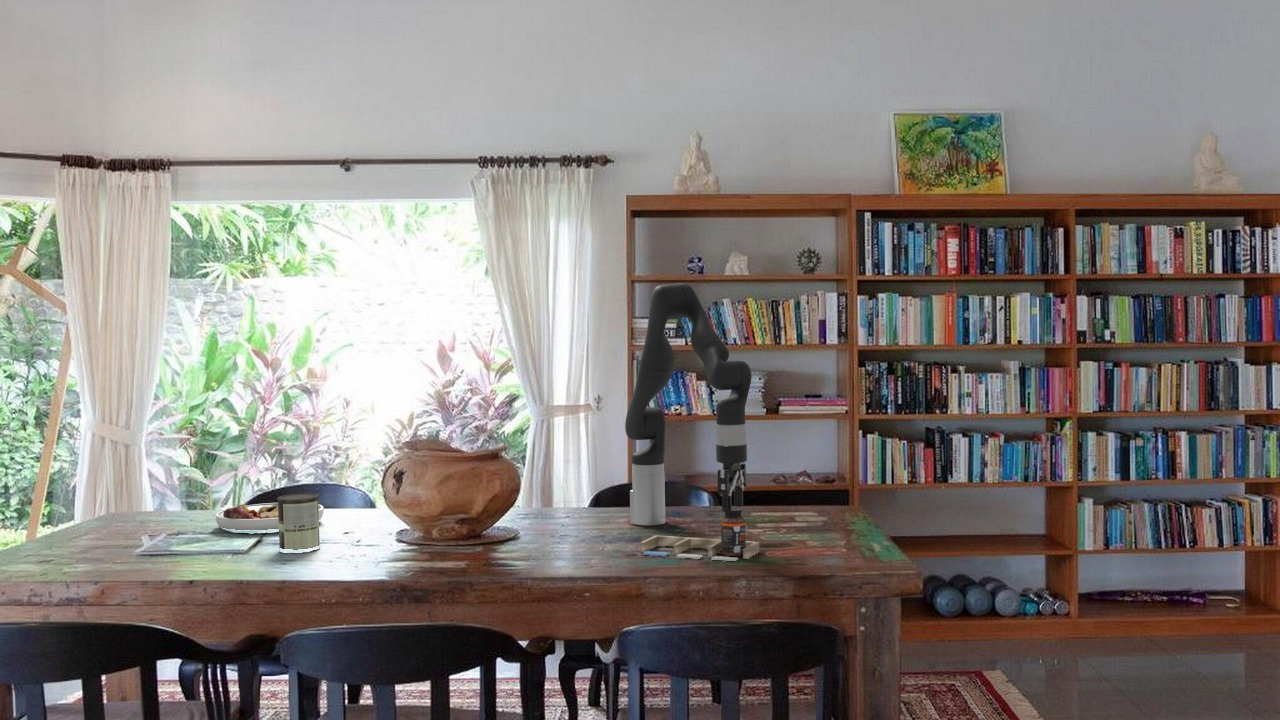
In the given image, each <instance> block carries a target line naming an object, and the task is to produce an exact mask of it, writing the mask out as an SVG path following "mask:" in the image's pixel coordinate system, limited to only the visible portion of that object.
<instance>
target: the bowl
mask: <svg viewBox="0 0 1280 720" xmlns="http://www.w3.org/2000/svg"><path fill="white" fill-rule="evenodd" d="M318 507H319V520H320V521H321V519H322V518H323V516H324V511H325V510H324V506H323V505H322V504H319V503H318ZM215 521H216V524H217V526H218V527H219V528H220V527H222V528H226V529H235V530H268V529H279V517H278V502H269V503H267V502H266V503H257V504H256V503H255V504H249V505H248V504H247V505H246V504H243V503H241V504H240V505H237V506H235V507H228V508H225V509H223V510H219V511H218V512H216V513H215Z"/></svg>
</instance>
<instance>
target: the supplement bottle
mask: <svg viewBox="0 0 1280 720" xmlns="http://www.w3.org/2000/svg"><path fill="white" fill-rule="evenodd" d="M724 515H725V516H723V517H722V518H721V520H720V537H721V538H720V540H721V551H722V552H721V554H722V555H723V556H724V555H725V556H724V557H729V556H739V557H743V549H744V548H746V546H745V545H746V543H745V542H746V541H747V540H746V519H745V518H744V517H742V509H741V508H740V507H739V508H738V507H732V510H731V511H730V512H724Z"/></svg>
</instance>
